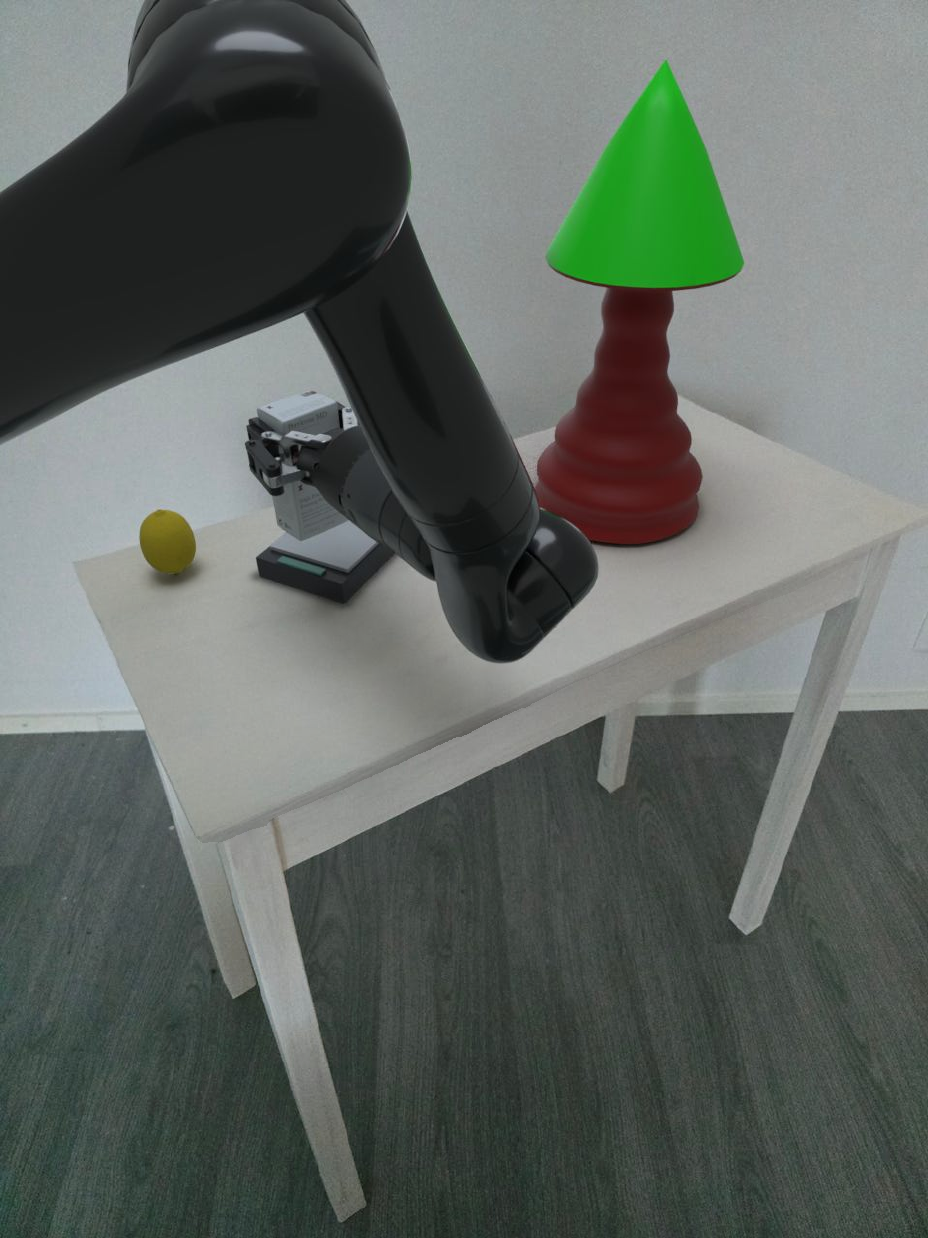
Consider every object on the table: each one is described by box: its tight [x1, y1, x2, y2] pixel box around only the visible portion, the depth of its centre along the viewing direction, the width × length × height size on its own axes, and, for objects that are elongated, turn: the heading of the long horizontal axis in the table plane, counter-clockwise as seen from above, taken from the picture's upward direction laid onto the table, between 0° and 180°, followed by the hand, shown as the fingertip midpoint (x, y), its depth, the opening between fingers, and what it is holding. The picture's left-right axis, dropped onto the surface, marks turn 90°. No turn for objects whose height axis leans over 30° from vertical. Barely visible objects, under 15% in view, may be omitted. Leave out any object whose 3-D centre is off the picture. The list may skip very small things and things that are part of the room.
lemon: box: [138, 508, 197, 575], centre depth 88 cm, size 6×6×8 cm
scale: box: [255, 520, 396, 604], centre depth 92 cm, size 13×11×3 cm
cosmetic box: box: [256, 389, 348, 541], centre depth 77 cm, size 6×4×12 cm
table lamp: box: [534, 59, 745, 545], centre depth 87 cm, size 20×20×45 cm
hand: (288, 417), depth 76 cm, fingers closed on cosmetic box, 6 cm apart
